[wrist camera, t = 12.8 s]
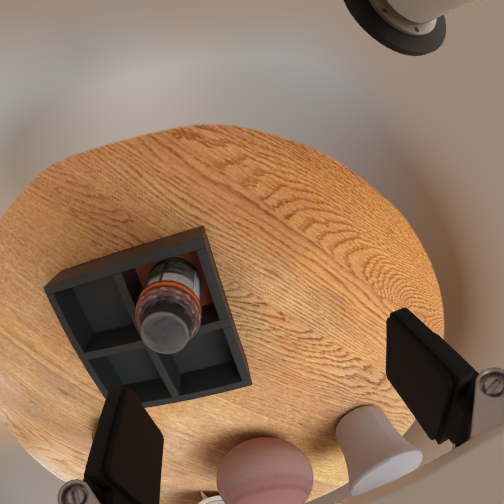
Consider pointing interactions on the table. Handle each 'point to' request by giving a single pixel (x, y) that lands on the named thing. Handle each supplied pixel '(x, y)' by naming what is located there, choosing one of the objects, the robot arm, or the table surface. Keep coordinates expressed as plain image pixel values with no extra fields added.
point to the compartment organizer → (128, 333)
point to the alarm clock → (211, 499)
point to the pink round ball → (265, 473)
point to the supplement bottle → (169, 306)
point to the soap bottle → (373, 449)
